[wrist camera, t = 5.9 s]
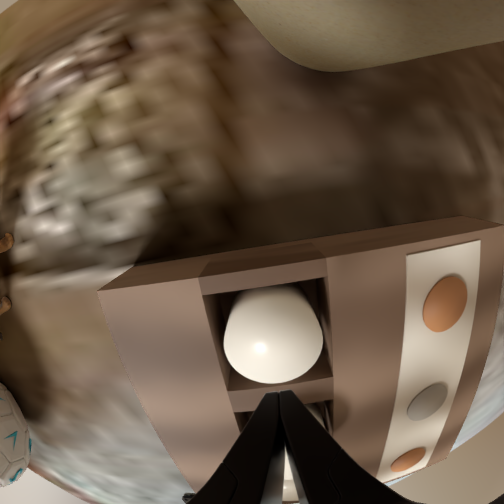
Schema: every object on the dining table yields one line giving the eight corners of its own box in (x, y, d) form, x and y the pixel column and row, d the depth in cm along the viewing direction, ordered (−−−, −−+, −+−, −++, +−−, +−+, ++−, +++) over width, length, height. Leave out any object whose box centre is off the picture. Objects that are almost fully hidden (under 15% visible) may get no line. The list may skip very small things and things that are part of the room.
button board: (429, 429, 20) (447, 460, 15) (211, 470, 21) (204, 508, 16) (461, 215, 15) (508, 226, 11) (132, 266, 16) (93, 293, 12)
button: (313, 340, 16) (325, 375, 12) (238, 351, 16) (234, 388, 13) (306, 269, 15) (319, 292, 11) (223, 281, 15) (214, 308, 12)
